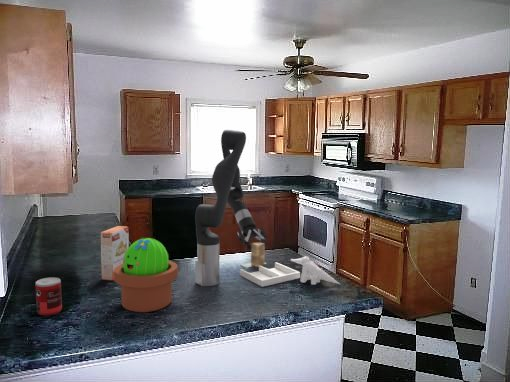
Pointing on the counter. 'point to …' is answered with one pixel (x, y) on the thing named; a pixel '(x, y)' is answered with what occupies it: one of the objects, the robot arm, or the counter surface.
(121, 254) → the cracker box
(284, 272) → the tray
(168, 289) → the potted cactus
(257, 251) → the oak block
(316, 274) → the dinosaur statue
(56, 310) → the canned food
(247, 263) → the sage mat
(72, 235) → the counter surface
